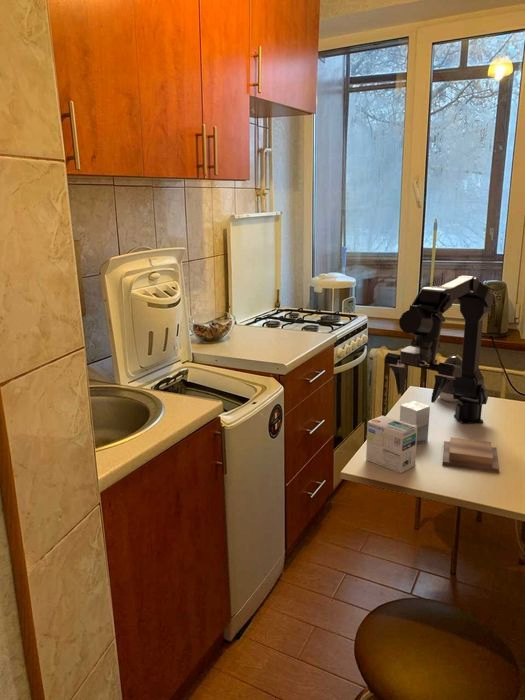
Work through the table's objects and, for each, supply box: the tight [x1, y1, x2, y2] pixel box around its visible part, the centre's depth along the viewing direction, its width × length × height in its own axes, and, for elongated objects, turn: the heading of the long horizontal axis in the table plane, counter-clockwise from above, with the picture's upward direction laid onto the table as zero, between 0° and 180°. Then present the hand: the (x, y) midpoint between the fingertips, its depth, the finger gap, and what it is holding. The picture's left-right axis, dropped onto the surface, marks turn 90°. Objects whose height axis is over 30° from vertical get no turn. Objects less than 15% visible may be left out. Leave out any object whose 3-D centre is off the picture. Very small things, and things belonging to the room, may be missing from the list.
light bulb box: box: [365, 415, 418, 474], centre depth 135 cm, size 11×7×11 cm, turn 43°
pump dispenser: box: [438, 355, 462, 403], centre depth 179 cm, size 10×10×15 cm
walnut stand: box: [441, 437, 500, 474], centre depth 138 cm, size 13×13×3 cm
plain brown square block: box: [399, 400, 431, 446], centre depth 149 cm, size 6×6×10 cm
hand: (415, 398), depth 136 cm, fingers open, 9 cm apart
